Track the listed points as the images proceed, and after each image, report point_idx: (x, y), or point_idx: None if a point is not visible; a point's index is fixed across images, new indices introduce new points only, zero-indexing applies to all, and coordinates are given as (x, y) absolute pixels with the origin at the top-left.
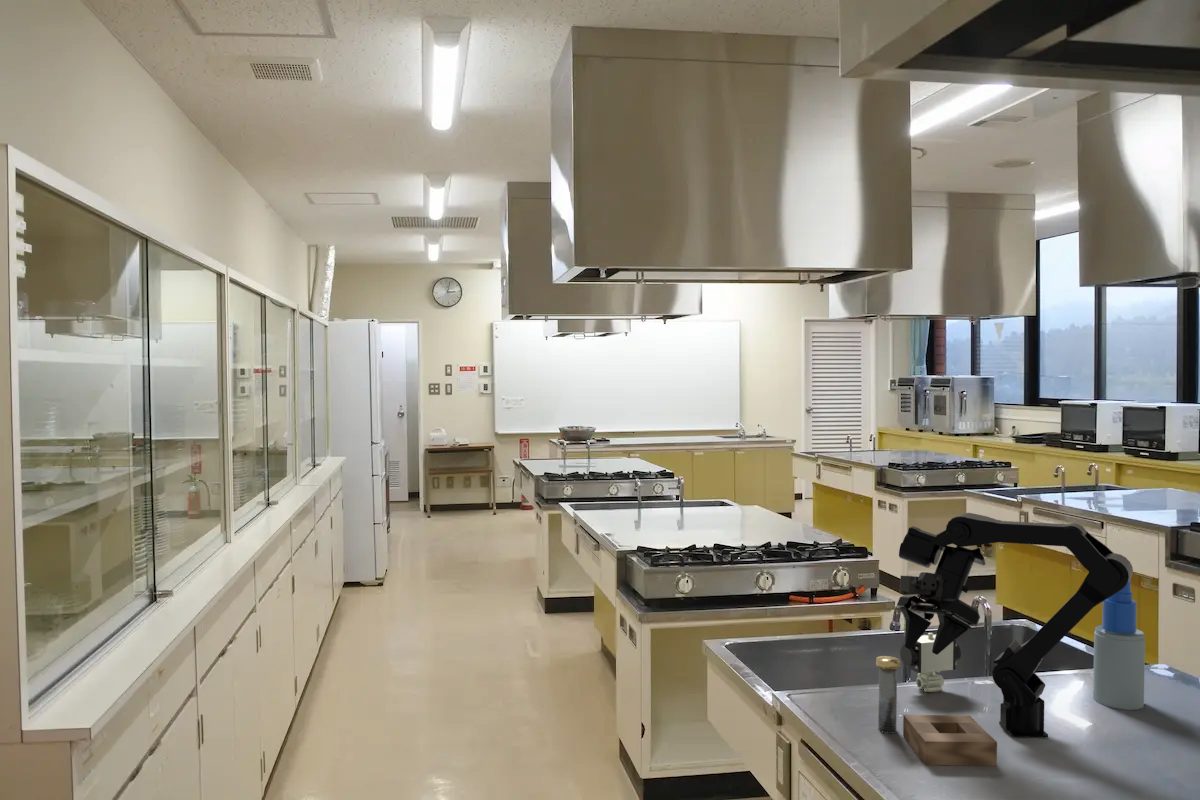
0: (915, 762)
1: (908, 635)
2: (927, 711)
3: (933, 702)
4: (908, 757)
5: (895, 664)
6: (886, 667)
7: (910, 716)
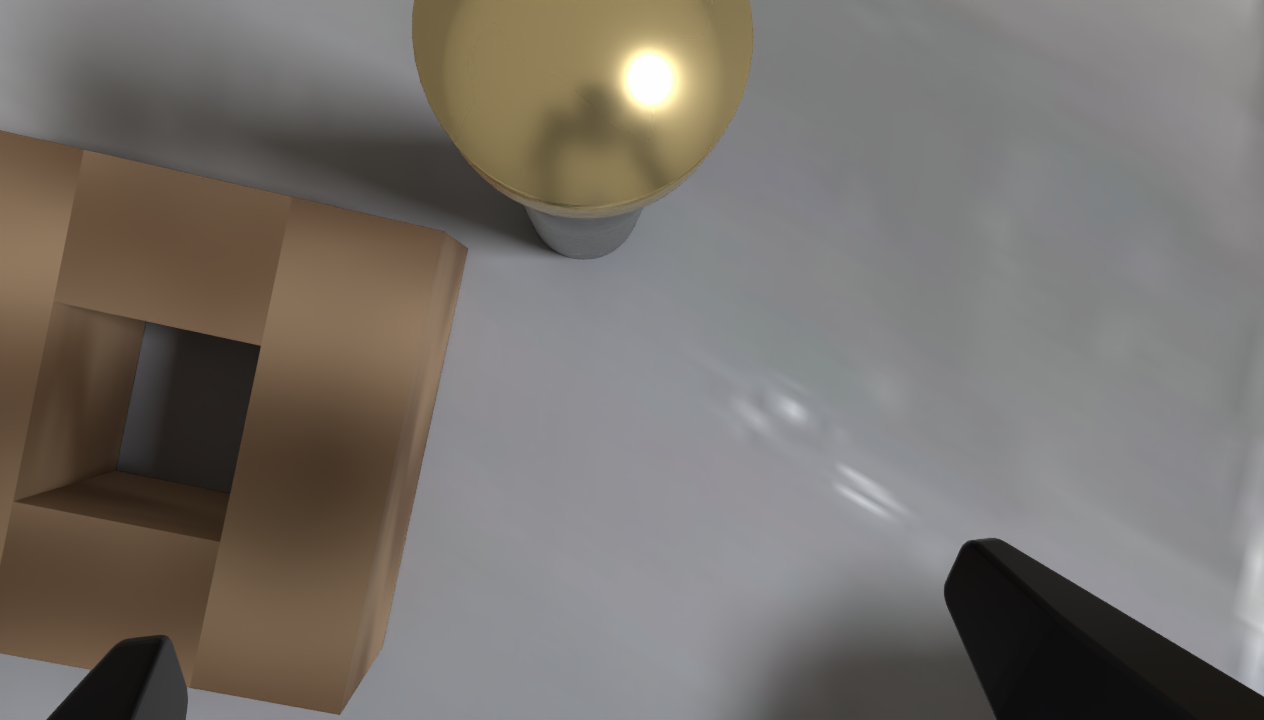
0: (88, 114)
1: (1122, 684)
2: (814, 615)
3: None
4: (164, 111)
5: (416, 64)
6: None
7: (397, 264)
